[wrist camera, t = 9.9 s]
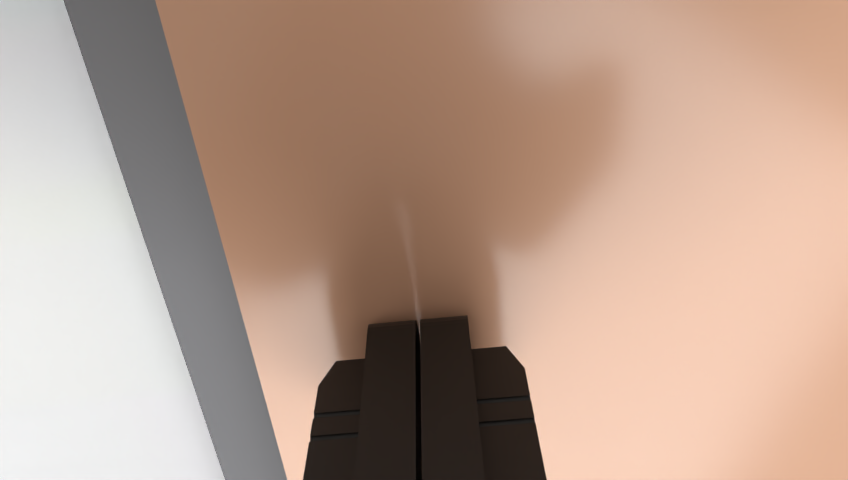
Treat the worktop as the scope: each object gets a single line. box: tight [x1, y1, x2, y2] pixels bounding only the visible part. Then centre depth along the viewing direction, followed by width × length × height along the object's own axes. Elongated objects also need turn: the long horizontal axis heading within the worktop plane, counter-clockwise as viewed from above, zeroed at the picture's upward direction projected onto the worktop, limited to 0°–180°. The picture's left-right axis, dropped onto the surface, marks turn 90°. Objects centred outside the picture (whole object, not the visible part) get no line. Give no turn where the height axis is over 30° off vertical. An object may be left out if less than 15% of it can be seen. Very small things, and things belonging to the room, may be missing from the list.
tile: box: [155, 0, 848, 480], centre depth 12 cm, size 14×10×2 cm
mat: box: [64, 0, 287, 480], centre depth 13 cm, size 26×18×3 cm
